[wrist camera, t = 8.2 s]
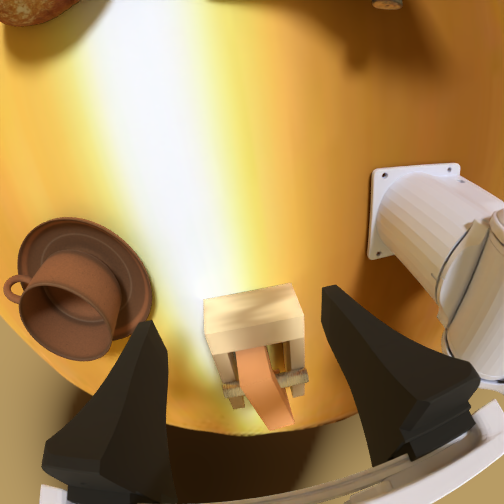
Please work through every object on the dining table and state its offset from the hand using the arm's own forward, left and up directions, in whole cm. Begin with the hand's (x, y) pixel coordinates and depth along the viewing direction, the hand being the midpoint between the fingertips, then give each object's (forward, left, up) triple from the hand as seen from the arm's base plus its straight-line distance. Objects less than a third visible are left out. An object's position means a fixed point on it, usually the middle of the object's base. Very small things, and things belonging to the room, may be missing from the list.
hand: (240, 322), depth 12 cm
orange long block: (-1, +14, -9) cm, 17 cm away
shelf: (-1, +13, -10) cm, 17 cm away
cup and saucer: (+12, +3, -11) cm, 17 cm away
